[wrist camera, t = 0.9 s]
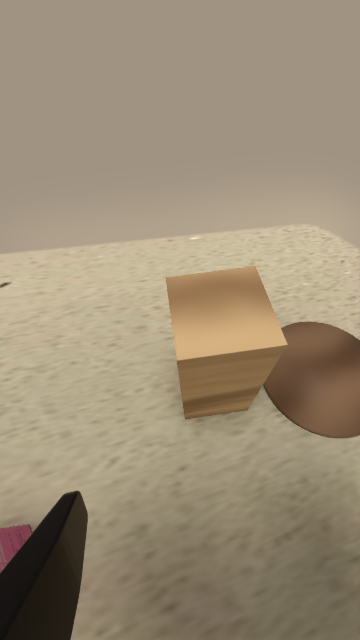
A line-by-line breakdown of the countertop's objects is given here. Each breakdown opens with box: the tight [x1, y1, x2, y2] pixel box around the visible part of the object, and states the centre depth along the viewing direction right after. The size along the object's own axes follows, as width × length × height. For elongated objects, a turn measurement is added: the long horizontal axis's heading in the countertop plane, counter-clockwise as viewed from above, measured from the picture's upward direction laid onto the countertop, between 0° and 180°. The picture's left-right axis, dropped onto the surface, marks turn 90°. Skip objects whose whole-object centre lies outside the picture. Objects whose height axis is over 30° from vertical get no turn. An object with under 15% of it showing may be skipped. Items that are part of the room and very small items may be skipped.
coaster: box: [263, 322, 360, 438], centre depth 24 cm, size 11×11×1 cm
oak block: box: [166, 266, 288, 419], centre depth 19 cm, size 6×6×12 cm
